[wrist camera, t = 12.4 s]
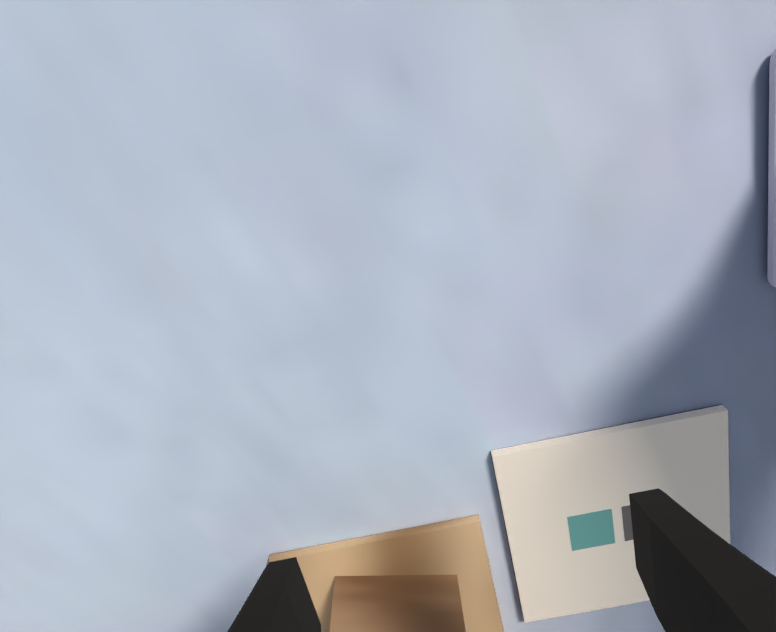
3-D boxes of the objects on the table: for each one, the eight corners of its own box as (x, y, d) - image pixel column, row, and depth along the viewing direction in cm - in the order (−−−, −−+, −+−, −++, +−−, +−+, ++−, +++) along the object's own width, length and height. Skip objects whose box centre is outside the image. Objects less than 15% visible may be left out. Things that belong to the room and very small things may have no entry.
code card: (722, 404, 23) (728, 410, 22) (726, 579, 26) (731, 586, 26) (490, 450, 23) (492, 457, 23) (522, 614, 27) (524, 623, 26)
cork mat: (478, 514, 24) (479, 521, 24) (510, 664, 28) (512, 672, 27) (269, 554, 25) (268, 561, 25) (325, 696, 28) (324, 704, 28)
